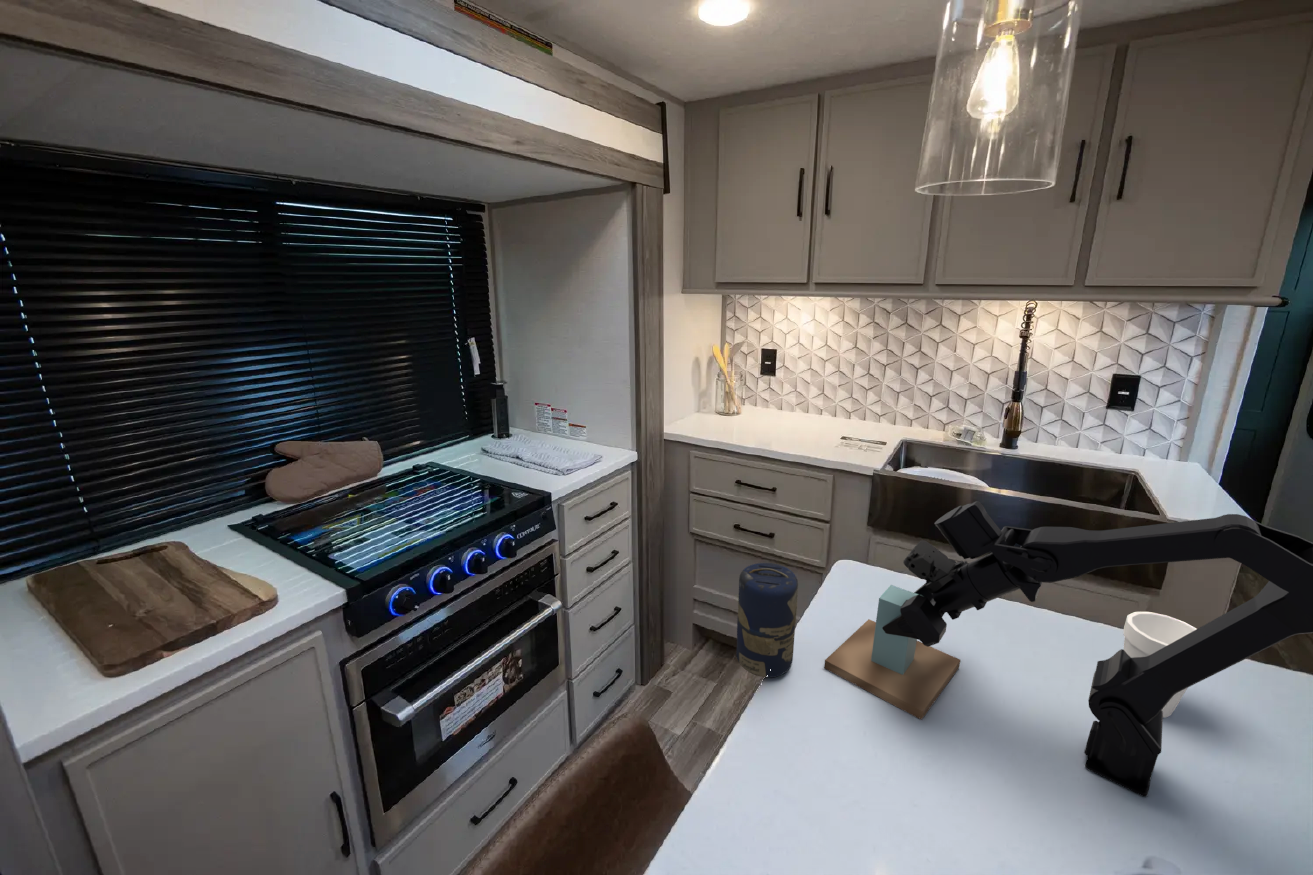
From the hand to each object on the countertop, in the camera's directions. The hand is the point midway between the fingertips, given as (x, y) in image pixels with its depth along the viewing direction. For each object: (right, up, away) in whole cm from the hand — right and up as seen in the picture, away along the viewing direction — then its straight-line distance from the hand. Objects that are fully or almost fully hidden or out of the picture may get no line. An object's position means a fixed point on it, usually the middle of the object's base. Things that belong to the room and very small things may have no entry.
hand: (894, 617), depth 93 cm
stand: (+1, -9, +2) cm, 10 cm away
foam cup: (+37, -12, -5) cm, 39 cm away
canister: (-21, -9, +4) cm, 23 cm away
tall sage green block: (0, -8, +2) cm, 8 cm away
